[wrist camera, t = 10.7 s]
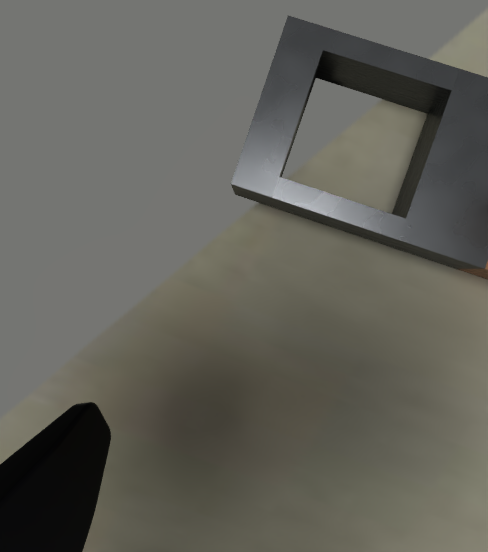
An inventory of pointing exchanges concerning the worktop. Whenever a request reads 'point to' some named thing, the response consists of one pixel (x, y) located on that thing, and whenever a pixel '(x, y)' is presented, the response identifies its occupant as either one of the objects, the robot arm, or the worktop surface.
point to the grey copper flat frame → (425, 162)
